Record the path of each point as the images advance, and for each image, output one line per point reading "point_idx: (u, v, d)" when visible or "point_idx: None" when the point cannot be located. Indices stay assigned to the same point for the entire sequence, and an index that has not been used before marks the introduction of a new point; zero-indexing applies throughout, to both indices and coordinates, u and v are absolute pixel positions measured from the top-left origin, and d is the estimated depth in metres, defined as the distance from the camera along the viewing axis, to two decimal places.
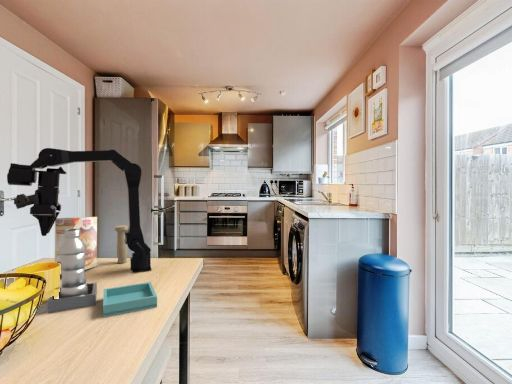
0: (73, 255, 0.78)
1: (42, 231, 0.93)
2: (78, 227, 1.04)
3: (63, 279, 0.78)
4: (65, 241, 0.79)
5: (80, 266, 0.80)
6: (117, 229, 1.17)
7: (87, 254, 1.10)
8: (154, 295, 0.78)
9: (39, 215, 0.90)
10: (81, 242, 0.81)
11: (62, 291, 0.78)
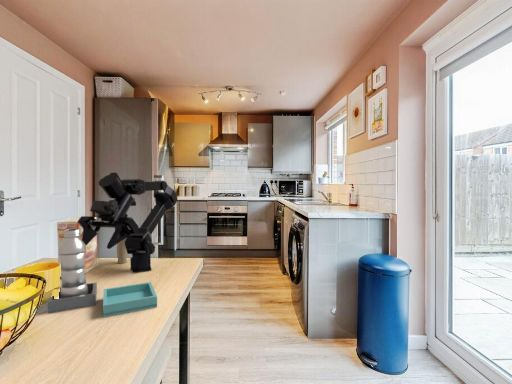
0: (73, 255, 0.78)
1: (111, 243, 0.88)
2: (81, 230, 1.04)
3: (63, 279, 0.78)
4: (65, 241, 0.79)
5: (80, 266, 0.80)
6: None
7: (90, 256, 1.09)
8: (154, 295, 0.78)
9: (126, 227, 0.90)
10: (81, 242, 0.81)
11: (62, 291, 0.78)
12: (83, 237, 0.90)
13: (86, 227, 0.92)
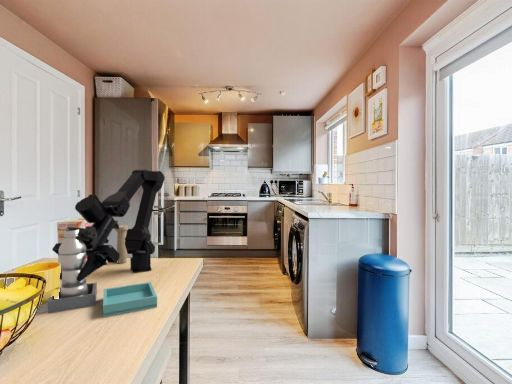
0: (73, 255, 0.78)
1: (82, 275, 0.79)
2: None
3: (63, 279, 0.78)
4: (65, 241, 0.78)
5: (80, 266, 0.80)
6: (117, 229, 1.17)
7: None
8: (154, 295, 0.78)
9: (99, 257, 0.82)
10: (81, 242, 0.80)
11: (62, 291, 0.78)
12: None
13: None
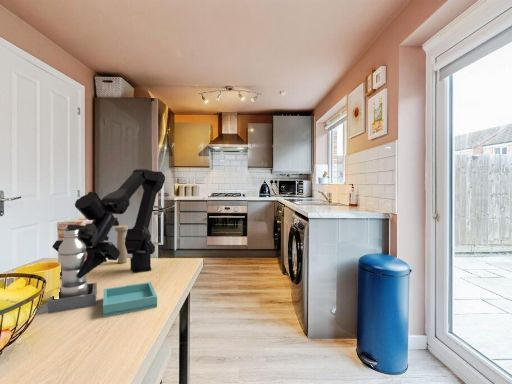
0: (73, 255, 0.78)
1: (82, 272, 0.80)
2: None
3: (63, 279, 0.78)
4: (65, 241, 0.78)
5: (79, 266, 0.80)
6: (117, 229, 1.17)
7: None
8: (154, 295, 0.78)
9: (99, 254, 0.82)
10: (81, 242, 0.80)
11: (63, 290, 0.78)
12: None
13: None
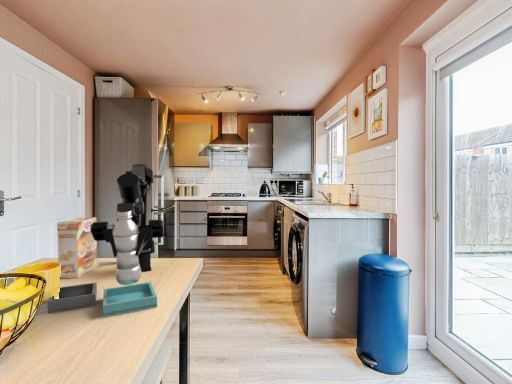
0: (133, 236, 0.78)
1: (140, 249, 0.80)
2: (81, 231, 1.04)
3: (123, 261, 0.77)
4: (122, 223, 0.77)
5: (136, 246, 0.80)
6: None
7: (90, 256, 1.09)
8: (154, 295, 0.78)
9: (151, 231, 0.84)
10: (134, 223, 0.80)
11: (124, 273, 0.77)
12: (113, 245, 0.79)
13: None
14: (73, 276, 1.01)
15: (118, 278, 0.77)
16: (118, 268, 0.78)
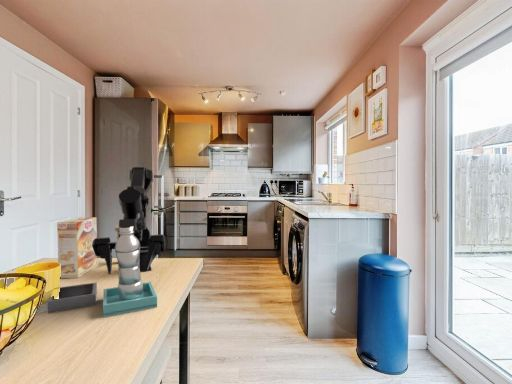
0: (135, 251, 0.78)
1: (149, 264, 0.81)
2: (81, 231, 1.04)
3: (125, 277, 0.78)
4: (124, 238, 0.77)
5: (138, 261, 0.80)
6: (117, 229, 1.17)
7: (90, 256, 1.09)
8: (154, 295, 0.78)
9: (159, 246, 0.84)
10: (136, 238, 0.81)
11: (126, 288, 0.77)
12: (108, 262, 0.78)
13: (107, 250, 0.80)
14: (73, 276, 1.01)
15: (120, 294, 0.78)
16: (120, 284, 0.78)
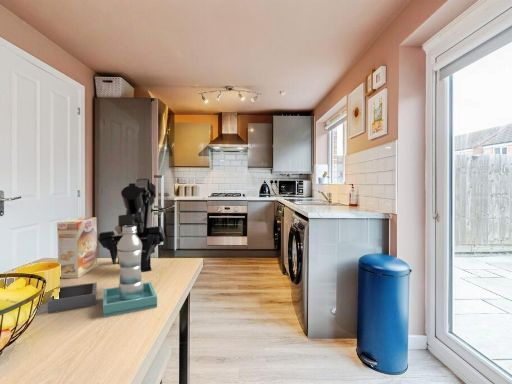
0: (137, 251, 0.79)
1: (148, 254, 0.89)
2: (81, 230, 1.04)
3: (126, 276, 0.78)
4: (127, 238, 0.78)
5: (139, 261, 0.81)
6: (117, 229, 1.17)
7: (90, 256, 1.09)
8: (154, 295, 0.78)
9: (158, 237, 0.92)
10: None
11: (127, 288, 0.78)
12: (112, 254, 0.88)
13: (111, 243, 0.89)
14: (73, 276, 1.01)
15: (121, 293, 0.78)
16: (121, 283, 0.78)
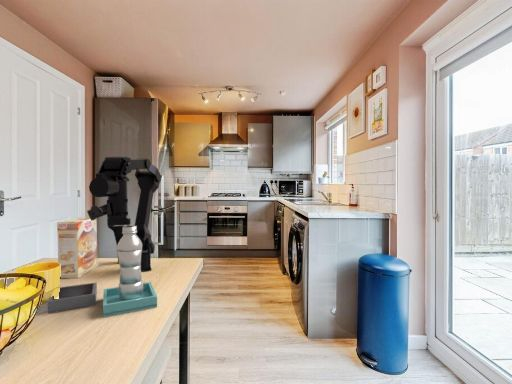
0: (137, 251, 0.79)
1: (117, 242, 0.90)
2: (81, 230, 1.04)
3: (126, 276, 0.78)
4: (127, 238, 0.78)
5: (139, 261, 0.81)
6: None
7: (90, 256, 1.09)
8: (154, 295, 0.78)
9: (115, 226, 0.87)
10: None
11: (127, 288, 0.78)
12: None
13: None
14: (73, 276, 1.01)
15: (121, 293, 0.78)
16: (121, 283, 0.78)
